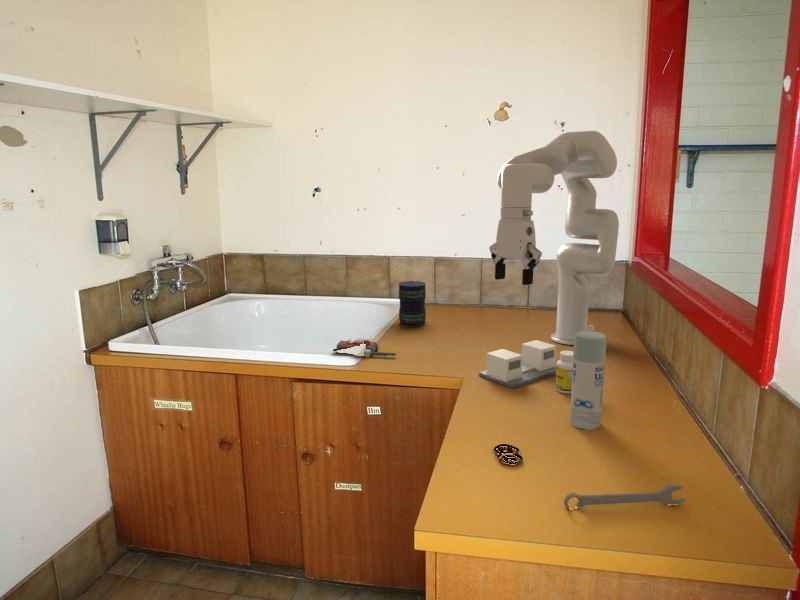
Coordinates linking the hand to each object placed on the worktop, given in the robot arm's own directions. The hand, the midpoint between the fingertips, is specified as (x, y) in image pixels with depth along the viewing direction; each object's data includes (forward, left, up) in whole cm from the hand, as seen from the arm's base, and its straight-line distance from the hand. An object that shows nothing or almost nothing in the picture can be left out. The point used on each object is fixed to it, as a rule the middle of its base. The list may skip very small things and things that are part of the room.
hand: (513, 281), depth 146 cm
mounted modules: (-5, 0, -25) cm, 26 cm away
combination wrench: (+30, +53, -27) cm, 66 cm away
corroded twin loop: (+32, +30, -27) cm, 51 cm away
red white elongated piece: (+18, -43, -27) cm, 54 cm away
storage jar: (-14, -62, -26) cm, 69 cm away
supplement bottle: (-5, +15, -26) cm, 31 cm away
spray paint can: (+8, +30, -26) cm, 41 cm away
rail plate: (-5, 0, -26) cm, 27 cm away
